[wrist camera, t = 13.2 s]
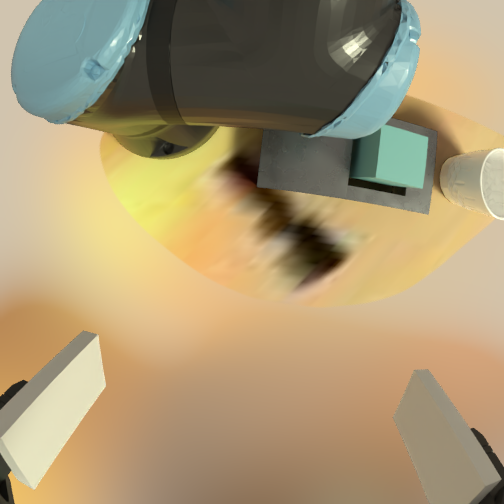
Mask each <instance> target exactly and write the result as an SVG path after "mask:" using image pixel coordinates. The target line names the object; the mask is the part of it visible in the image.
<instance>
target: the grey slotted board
mask: <svg viewBox="0 0 504 504" xmlns="http://www.w3.org/2000/svg"><path fill="white" fill-rule="evenodd" d="M385 125H388V126H392V127H396V128H399V129H403V130H406V131H409V132H413V133H416V134H419V135H422V136H425V137H428V148H427V158H426V167H425V176H424V183H423V189H420V188H410V187H400V186H393V191H392V194H391V193H386V192H381V191H376V190H371V189H366V188H360V187H354V186H349V185H348V179H349V171H350V163H351V154H352V144H353V139H344V138H336V137H327V136H319V137H313V138H308V137H303V136H301V135H299V133H296V132H287V131H278V130H268V129H263V138H262V146H261V155H260V163H259V172H258V181H257V187H263V188H271V189H279V190H287V191H294V192H302V193H309V194H316V195H322V196H329V197H335V198H341V199H348V200H354V201H360V202H365V203H371V204H377V205H382V206H387V207H393V208H398V209H403V210H408V211H413V212H418V213H423V214H429V208H430V201H431V194H432V187H433V178H434V169H435V158H436V146H437V131H434V130H431V129H428V128H425V127H422V126H418V125H415V124H412V123H408V122H405V121H401V120H398V119H394V118H390V119H389V120H388V121H387V123H386V124H385Z"/></svg>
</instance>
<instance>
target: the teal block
mask: <svg viewBox="0 0 504 504" xmlns="http://www.w3.org/2000/svg"><path fill="white" fill-rule="evenodd" d="M427 148H428V137H425V136H422V135H419V134H416V133H413V132H409V131H406V130H403V129H399V128H396V127H392V126H388V125H385V124H384V125H383V126H382V127H381V128H380V129H379V130H377V131H376V132H374V133H372V134H370V135H367V136H365V137H360V138H357V139H353V144H352V154H351V163H350V171H349V178H353V179H358V180H363V181H368V182H372V183H377V184H382V185H388V186H400V187H410V188H420V189H423V183H424V176H425V167H426V158H427Z"/></svg>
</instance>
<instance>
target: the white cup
mask: <svg viewBox="0 0 504 504" xmlns="http://www.w3.org/2000/svg"><path fill="white" fill-rule="evenodd" d="M440 187H441V189H442V191H443V194H444V196H445V197H446V198H447V199H448V200H449V201H450V202H451V203H452V204H456V205H459V206H462V207H464V208H466V209H469V210H472V211H475V212H478V213H481V214H484V215H488V216H491V217H494V218H497V219H501V220H504V149H503V148H495V149H488V150H480V151H475V152H469V153H464V154H461V155H456V156H453V157H450V158H448V159H447V160H446V161H445V163H444V164H443V165H442V168H441V172H440Z"/></svg>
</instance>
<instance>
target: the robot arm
mask: <svg viewBox="0 0 504 504" xmlns="http://www.w3.org/2000/svg"><path fill="white" fill-rule="evenodd" d="M420 35H421V29H420V22H419V18H418V15H417V13H416V11H415V9H414V7H413V6H412V5H411V4H410V3H409V2H407V1H406V0H42V1H41V2H40V3H39V5H38V6H37V7H36V8H35V9H34V11H33V12H32V14H31V15H30V17H29V19H28V20H27V22H26V24H25V26H24V28H23V30H22V32H21V34H20V36H19V39H18V42H17V44H16V48H15V51H14V55H13V60H12V68H11V80H12V87H13V90H14V92H15V94H16V96H17V100H18V103H19V104H20V105H21V107H22V108H24V109H25V110H26V111H27V112H29V113H31V114H32V115H35V116H38V117H42V118H44V119H46V120H47V121H48V122H50V123H54V124H64V123H67V124H71V125H76V126H81V127H86V128H90V129H95V130H99V131H103V132H108V133H112V134H113V135H114V137H115V138H116V139H117V141H118V142H119V143H120V144H121V145H122V146H123V147H125V148H126V149H127V150H129V151H131V152H132V153H134V154H137V155H139V156H142V157H147V158H153V159H172V158H177V157H181V156H184V155H186V154H188V153H191V152H192V151H194V150H196V149H198V148H199V147H200V146H202V145H203V144H204V143H206V142H207V141H208V140H209V139H210V138H211V137H212V136H213V134H214V133H215V132H216V131H217V129H218V128H219V126H226V127H243V128H256V129H268V130H278V131H287V132H296V133H299V135H301V136H303V137H308V138H313V137H319V136H327V137H336V138H344V139H357V138H360V137H365V136H367V135H370V134H372V133H374V132H376V131H377V130H379V129H380V128H381V127H382V126H383V125H384V124H386V123H387V121H388V120H389V119H390V118H391V117H392V116H393V114H394V113H395V112H396V110H397V109H398V107H399V106H400V104H401V102H402V101H403V99H404V97H405V95H406V93H407V91H408V89H409V87H410V84H411V82H412V80H413V77H414V74H415V71H416V67H417V63H418V58H419V51H420V49H419V47H418V46H417V45H416V43H417V40H418V39H419V37H420ZM105 387H106V383H105V377H104V372H103V366H102V359H101V352H100V345H99V337H98V334H94V333H90V332H87V331H82V332H81V333H80V334H79V335H78V336H77V337H76V338H75V339H73V340H72V341H71V342H70V343H69V344H68V345H67V346H66V347H65V348H64V349H63V350H61V352H60V353H58V354H57V355H56V356H55V357H54V358H53V359H52V360H51V361H50V362H49V363H48V364H47V365H46V366H44V367H43V368H42V369H41V370H40V371H39V372H38V373H37V374H36V375H35V376H34V377H33V378H32V379H31V380H30V381H29V382H27V381H25V380H22V381H20V382H18V383H16V384H14V385H12V386H11V387H10V388H9V389H8V390H7V391H6V392H5V393H4V395H3V394H2V395H1V396H0V504H15V503H14V499H13V494H12V488H11V482H10V479H9V477H8V474H9V473H10V471H12V473H13V474H14V475H15V477H16V478H17V480H19V481H20V482H22V483H23V484H25V485H27V486H29V487H30V488H32V489H34V490H35V488H36V487H37V485H38V484H39V482H40V481H41V479H42V478H43V476H44V475H45V473H46V471H47V470H48V468H49V467H50V465H51V464H52V462H53V461H54V460H55V458H56V457H57V455H58V453H59V452H60V450H61V449H62V448H63V446H64V445H65V443H66V442H67V440H68V439H69V437H70V436H71V434H72V433H73V432H74V430H75V429H76V427H77V426H78V424H79V423H80V422H81V420H82V419H83V417H84V416H85V414H86V413H87V411H88V410H89V408H90V407H91V406H92V405H93V403H94V402H95V400H96V399H97V398H98V396H99V394H100V393H101V392H102V391H103V389H104V388H105ZM393 419H394V421H395V423H396V425H397V428H398V430H399V432H400V435H401V437H402V439H403V441H404V443H405V446H406V448H407V450H408V453H409V455H410V458H411V460H412V462H413V465H414V467H415V469H416V472H417V474H418V477H419V479H420V482H421V484H422V486H423V489H424V492H425V494H426V497H427V499H428V502H429V504H504V467H503V465H502V464H501V462H500V461H499V459H498V457H497V456H496V454H495V453H493V450H492V448H491V447H490V446H488V442H487V441H486V439H485V438H484V436H483V435H482V434H481V433H480V432H478V431H477V430H476V429H474V428H471V429H470V428H469V426H468V425H467V424H466V422H465V421H464V419H463V418H462V416H461V415H460V413H459V412H458V410H457V409H456V407H455V406H454V405H453V403H452V402H451V400H450V399H449V398H448V396H447V395H446V393H445V392H444V391H443V389H442V388H441V386H440V385H439V383H438V382H437V381H436V380H435V378H434V377H433V375H432V374H431V372H430V371H429V370H414V371H413V374H412V376H411V379H410V381H409V383H408V386H407V388H406V390H405V393H404V395H403V397H402V399H401V401H400V404H399V406H398V408H397V410H396V412H395V414H394V416H393Z"/></svg>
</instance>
